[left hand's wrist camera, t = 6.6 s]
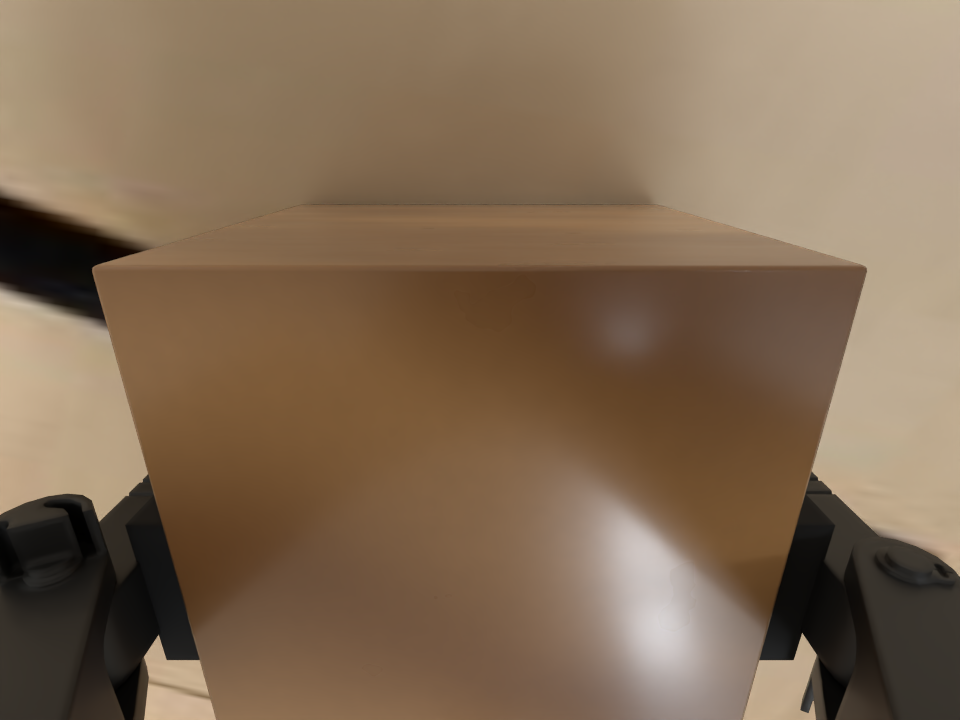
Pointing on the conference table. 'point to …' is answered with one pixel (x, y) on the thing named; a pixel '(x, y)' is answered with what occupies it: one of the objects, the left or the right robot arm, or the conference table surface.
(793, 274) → the brown wooden bar
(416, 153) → the conference table surface
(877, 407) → the conference table surface
